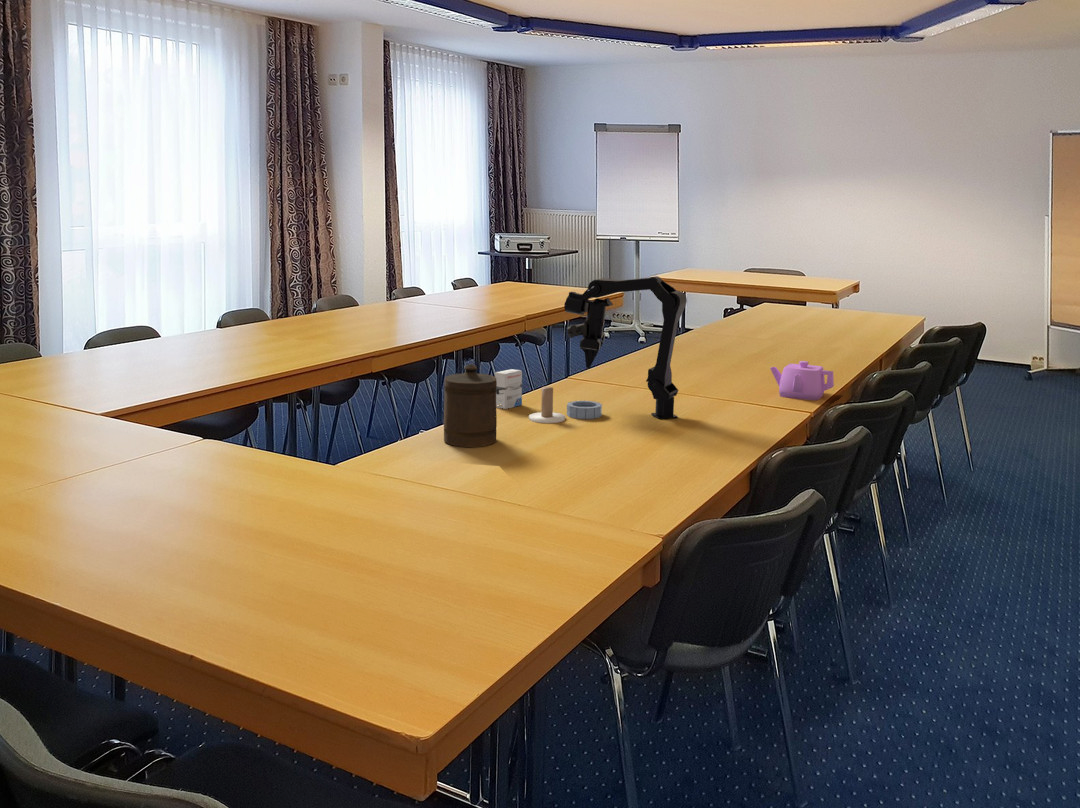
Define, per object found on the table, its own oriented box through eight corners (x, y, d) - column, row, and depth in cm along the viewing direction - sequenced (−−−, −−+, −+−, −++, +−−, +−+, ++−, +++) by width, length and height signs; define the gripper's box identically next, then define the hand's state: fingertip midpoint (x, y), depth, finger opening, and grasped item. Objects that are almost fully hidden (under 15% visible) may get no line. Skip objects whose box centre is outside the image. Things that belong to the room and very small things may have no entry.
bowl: (606, 418, 299) (606, 407, 298) (573, 419, 296) (573, 408, 295) (594, 410, 309) (594, 399, 308) (562, 412, 306) (563, 401, 305)
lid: (569, 422, 293) (570, 390, 291) (534, 424, 290) (535, 392, 288) (558, 414, 304) (559, 383, 302) (524, 416, 301) (524, 385, 298)
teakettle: (836, 399, 331) (839, 364, 328) (793, 402, 326) (796, 366, 323) (808, 389, 347) (810, 356, 344) (767, 392, 342) (769, 358, 339)
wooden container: (502, 436, 276) (502, 361, 271) (488, 449, 261) (488, 370, 257) (452, 432, 279) (452, 358, 274) (437, 445, 264) (436, 367, 260)
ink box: (511, 403, 318) (511, 368, 316) (522, 405, 315) (522, 370, 313) (494, 407, 312) (494, 371, 309) (505, 409, 309) (505, 373, 306)
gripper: (574, 310, 316) (568, 355, 320) (566, 319, 298) (561, 367, 302) (607, 314, 315) (601, 360, 319) (602, 324, 297) (595, 372, 301)
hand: (589, 365), depth 310 cm, fingers open, 9 cm apart
